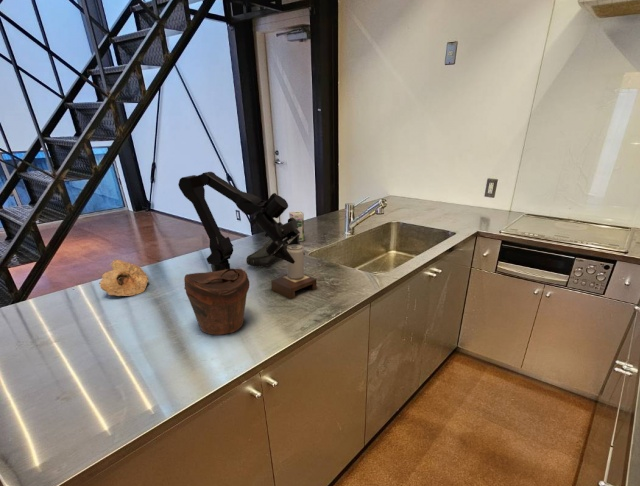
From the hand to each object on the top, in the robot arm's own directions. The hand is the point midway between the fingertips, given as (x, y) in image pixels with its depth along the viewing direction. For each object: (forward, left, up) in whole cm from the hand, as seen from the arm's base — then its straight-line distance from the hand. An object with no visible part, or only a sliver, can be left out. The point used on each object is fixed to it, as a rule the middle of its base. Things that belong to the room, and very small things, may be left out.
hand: (299, 258), depth 139 cm
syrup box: (+41, +47, -12) cm, 64 cm away
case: (-37, -5, -12) cm, 39 cm away
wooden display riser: (-3, 0, -12) cm, 12 cm away
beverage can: (-1, +1, -8) cm, 8 cm away
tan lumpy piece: (-47, +43, -12) cm, 65 cm away
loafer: (+11, +31, -12) cm, 35 cm away
